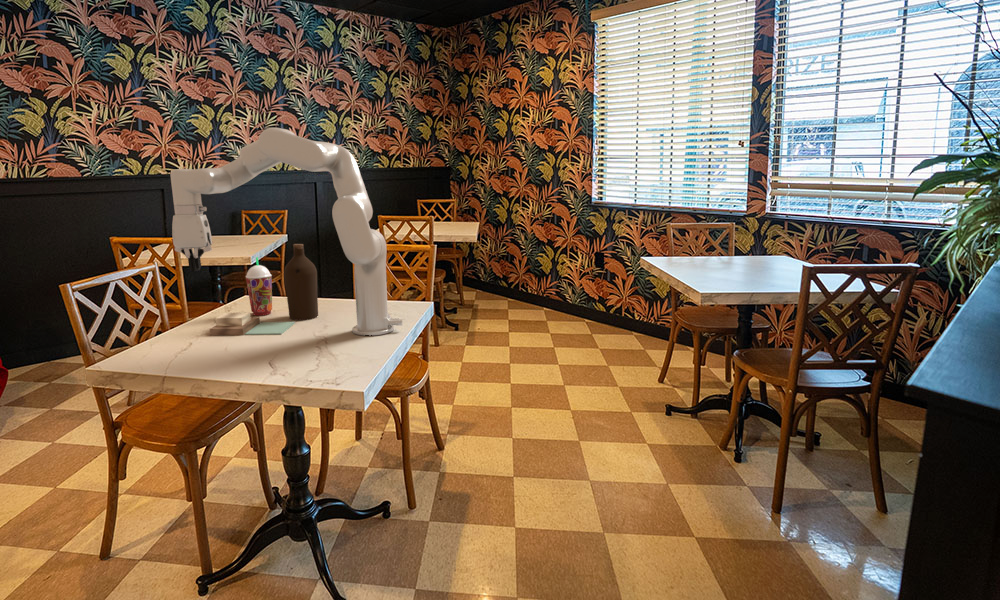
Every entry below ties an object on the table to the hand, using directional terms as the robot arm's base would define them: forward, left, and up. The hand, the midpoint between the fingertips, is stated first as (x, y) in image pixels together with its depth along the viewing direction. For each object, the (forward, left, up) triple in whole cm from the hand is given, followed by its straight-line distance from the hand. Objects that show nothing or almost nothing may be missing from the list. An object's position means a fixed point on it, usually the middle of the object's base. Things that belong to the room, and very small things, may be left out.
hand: (195, 270), depth 184 cm
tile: (-10, 0, -16) cm, 19 cm away
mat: (-22, 0, -19) cm, 29 cm away
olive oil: (-28, -15, -19) cm, 37 cm away
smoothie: (-12, -20, -19) cm, 30 cm away
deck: (-11, 0, -19) cm, 22 cm away
